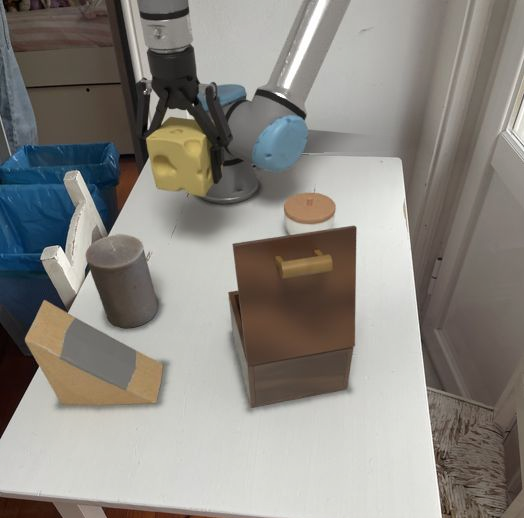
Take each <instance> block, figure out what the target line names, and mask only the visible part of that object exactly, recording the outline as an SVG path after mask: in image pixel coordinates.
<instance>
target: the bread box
mask: <svg viewBox="0 0 524 518" xmlns="http://www.w3.org/2000/svg"><path fill="white" fill-rule="evenodd" d="M227 293H228V303H229V312H230V323H231V333H232V337H233V342H234V345H235V350H236V353H237V358H238V361H239V366H240V370H241V373H242V374H241V375H242V378H243V381H244V386H245V390H246V393H247V399H248V402H249V407H250V408H251V409H253V408H259V407H263V406H268V405H269V406H270V405H274V404H279V403H285V402H289V401H294V400H298V399H299V400H300V399H304V398H309V397H310V398H311V397H315V396H319V395H320V396H321V395H324V394H331V393H336V392H341V391H346V390H348V384H349V379H350V371H351V368H352V367H351V366H352V360H353V353H354V347H355V346H354V347H349V348H344V349H338V350H333V351H327V352H322V353H316V354H311V355H305V356H300V357H294V358H289V359H283V360H278V361H272V362H267V363H261V364H256V365H250V366H248V364H247V359H246V351H245V342H244V334H243V326H242V318H241V310H240V302H239V294H238V290H233V291H228V292H227Z"/></svg>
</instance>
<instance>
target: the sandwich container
mask: <svg viewBox="0 0 524 518" xmlns="http://www.w3.org/2000/svg"><path fill="white" fill-rule="evenodd" d="M24 342H25V345H26V346H27V347H28V349H29V351H30V353H31V355H32V356H33V358H34V359H35V361H36V363H37V364H38V366H39V368H40V370H41V372H42V373H43V375H44V377H45V378H46V381H47V382H48V383H49V385H50V387H51V389H52V391H53V392H54V394H55V395H56V398H57V399H58V401H59V402H60V404H61V405H64V406H65V405H66V406H112V405H114V406H115V405H137V404H138V405H140V404H141V405H142V404H156V403H157V401H158V396H159V392H160V388H161V385H162V377H163V370H164V369H163V368H164V363H162V362H160V361H158V360H156V359H154V358H152V357H150V356H148V355H146V354H145V353H142V352H141V351H138V350H136V349H134V348H133V347H131V346H129V345H127V344H126V343H123V342H121V341H120V340H117V339H116V338H114V337H112V336H110V335H108V334H107V333H105V332H103V331H101V330H99V329H97V328H96V327H94V326H92V325H90V324H88V323H86V322H84V321H83V320H81V319H79V318H77V317H75V316H73V315H72V314H71V313H68V312H67V311H65V310H63V309H62V308H60V307H58V306H56V305H54V304H53V303H51V302H49V301H48V300H46V299H43V301H42V303H41V305H40V307H39V309H38V312H37V313H36V316H35V318H34V320H33V322H32V324H31V326H30V327H29V330H28V332H27V333H26V335H25V338H24Z"/></svg>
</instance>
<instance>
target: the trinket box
mask: <svg viewBox="0 0 524 518" xmlns="http://www.w3.org/2000/svg"><path fill="white" fill-rule="evenodd" d="M336 209H337V207H336V202H335V201H334V200H333V199H332V198H331V197H329V196H327V195H325V194H323V193H319V192H301V193H296V194H294V195H292V196H290V197H288V198H287V199H286V200H285V201H284V204H283V215H284V216H283V217H284V224H285V225H284V226H285V228H286V231H287V233H288V235H294V234H300V233H307V232H314V231H320V230H327V229H333V225H334V221H335V215H336V214H335V213H336Z"/></svg>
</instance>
